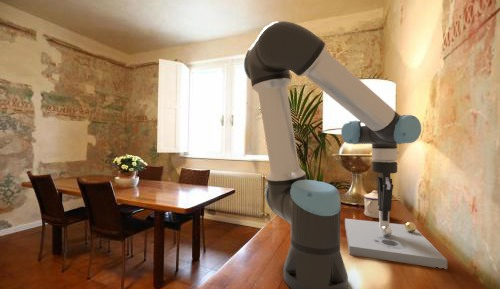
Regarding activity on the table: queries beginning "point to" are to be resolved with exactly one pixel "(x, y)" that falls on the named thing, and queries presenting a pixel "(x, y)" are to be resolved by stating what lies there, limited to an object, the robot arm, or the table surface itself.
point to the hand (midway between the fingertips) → (384, 229)
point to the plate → (391, 244)
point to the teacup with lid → (371, 205)
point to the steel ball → (386, 230)
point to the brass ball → (410, 227)
